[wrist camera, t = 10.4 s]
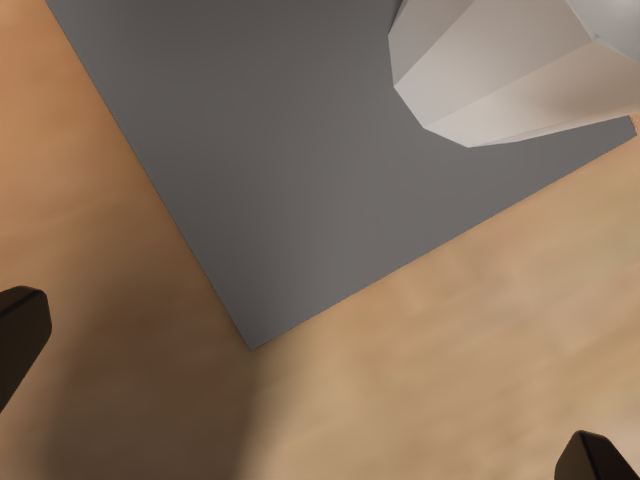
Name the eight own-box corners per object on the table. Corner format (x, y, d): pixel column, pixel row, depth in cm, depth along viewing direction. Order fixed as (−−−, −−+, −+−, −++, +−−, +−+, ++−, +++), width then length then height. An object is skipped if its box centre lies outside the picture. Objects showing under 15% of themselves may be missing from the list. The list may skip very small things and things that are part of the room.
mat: (632, 136, 22) (637, 135, 22) (251, 349, 22) (250, 351, 22) (405, -338, 20) (407, -346, 20) (-16, -107, 20) (-21, -111, 20)
